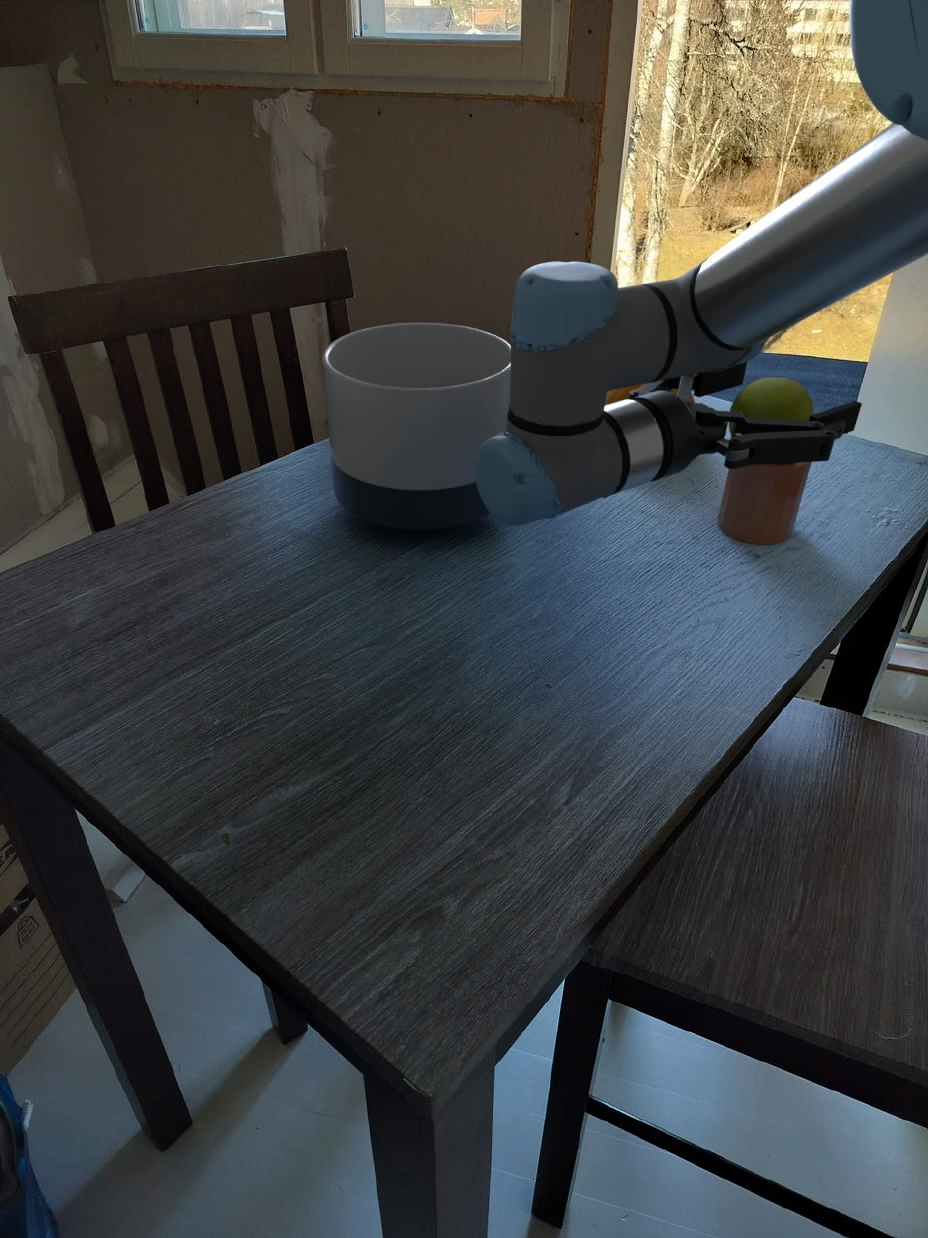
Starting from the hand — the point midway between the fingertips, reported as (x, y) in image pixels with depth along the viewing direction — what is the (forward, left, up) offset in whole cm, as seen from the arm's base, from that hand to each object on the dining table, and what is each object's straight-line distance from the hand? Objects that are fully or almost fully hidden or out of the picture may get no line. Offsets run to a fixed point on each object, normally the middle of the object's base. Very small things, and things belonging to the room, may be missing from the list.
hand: (795, 391), depth 84 cm
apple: (0, +1, -7) cm, 7 cm away
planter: (+29, +23, -15) cm, 40 cm away
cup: (0, +1, -15) cm, 15 cm away
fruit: (+21, -10, -15) cm, 28 cm away
